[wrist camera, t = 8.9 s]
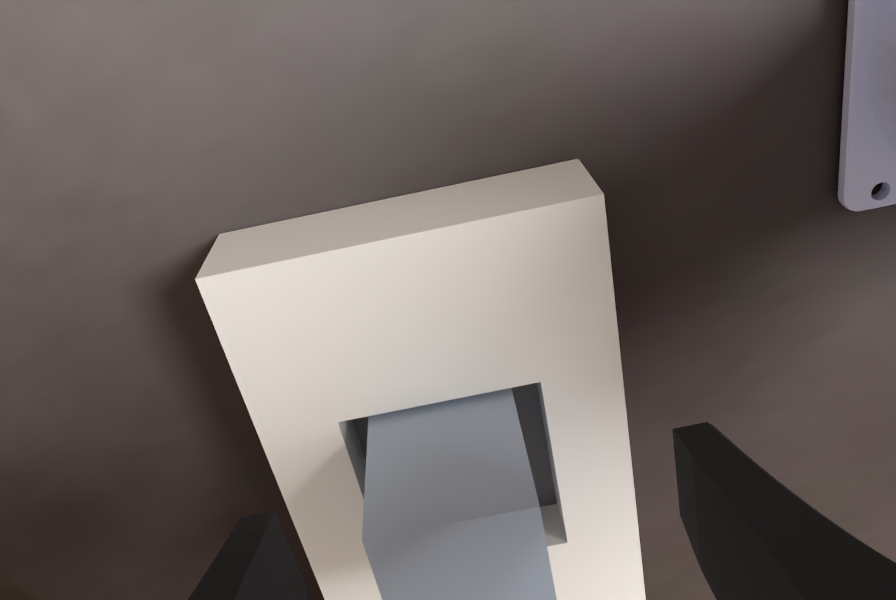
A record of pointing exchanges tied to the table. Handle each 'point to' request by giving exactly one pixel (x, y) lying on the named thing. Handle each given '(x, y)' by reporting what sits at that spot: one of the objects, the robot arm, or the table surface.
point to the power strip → (438, 356)
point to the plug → (454, 504)
